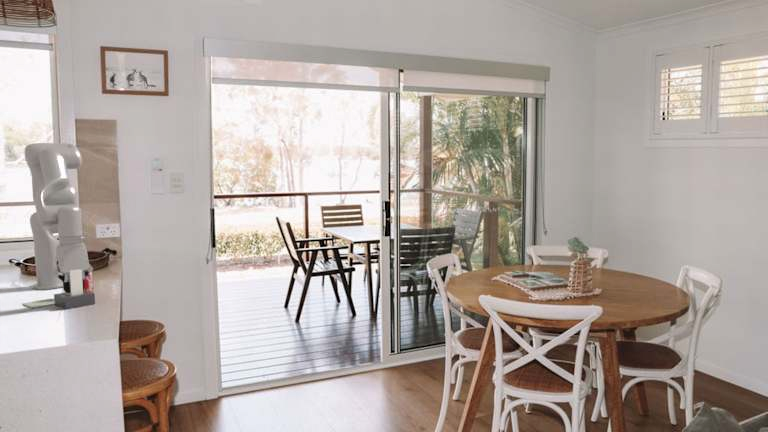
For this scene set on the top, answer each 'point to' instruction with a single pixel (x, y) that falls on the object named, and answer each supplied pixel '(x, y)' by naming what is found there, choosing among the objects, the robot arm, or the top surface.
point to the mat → (40, 303)
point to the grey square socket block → (74, 300)
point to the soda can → (88, 282)
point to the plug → (75, 283)
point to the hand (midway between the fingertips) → (74, 290)
